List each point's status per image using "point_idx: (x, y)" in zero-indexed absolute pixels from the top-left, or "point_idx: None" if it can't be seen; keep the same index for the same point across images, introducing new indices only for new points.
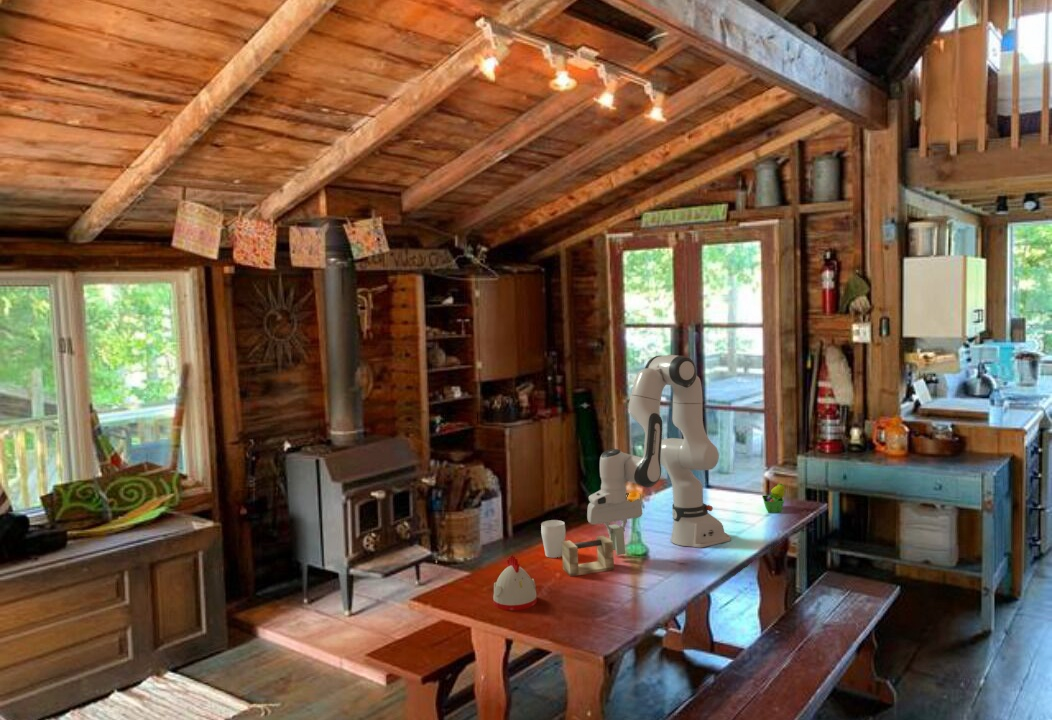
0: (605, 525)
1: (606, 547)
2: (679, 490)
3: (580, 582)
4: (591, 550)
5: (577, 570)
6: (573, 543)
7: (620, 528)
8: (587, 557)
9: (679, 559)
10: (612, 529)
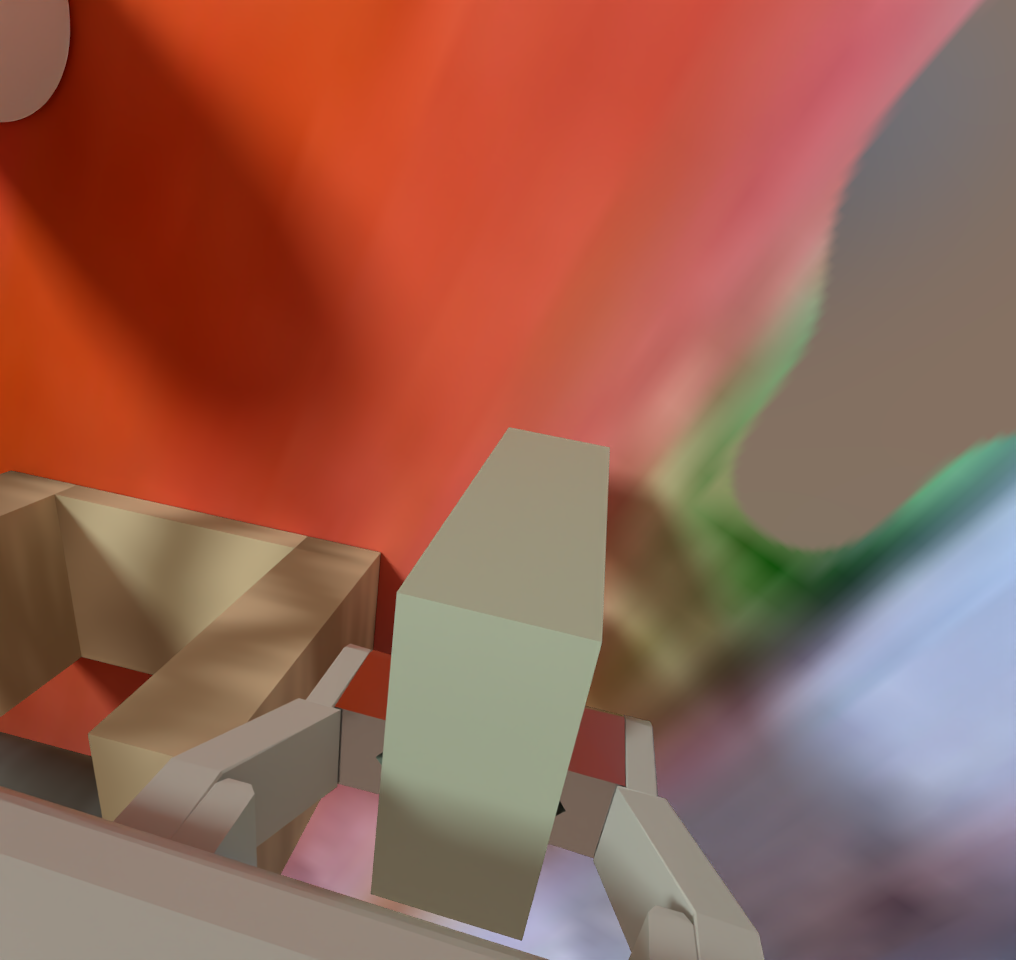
0: (214, 759)
1: None
2: None
3: (85, 742)
4: (428, 85)
5: (59, 666)
6: None
7: (503, 881)
8: (290, 311)
9: (970, 849)
10: (372, 784)
